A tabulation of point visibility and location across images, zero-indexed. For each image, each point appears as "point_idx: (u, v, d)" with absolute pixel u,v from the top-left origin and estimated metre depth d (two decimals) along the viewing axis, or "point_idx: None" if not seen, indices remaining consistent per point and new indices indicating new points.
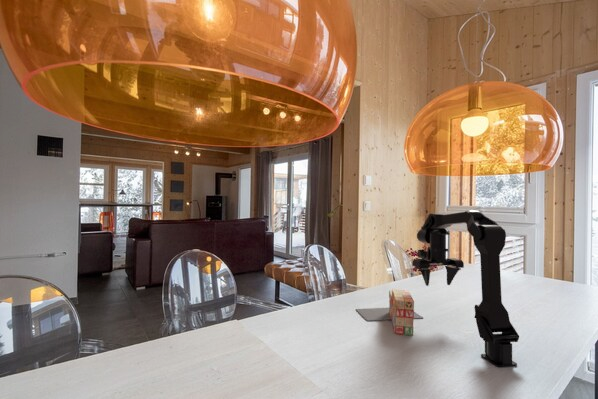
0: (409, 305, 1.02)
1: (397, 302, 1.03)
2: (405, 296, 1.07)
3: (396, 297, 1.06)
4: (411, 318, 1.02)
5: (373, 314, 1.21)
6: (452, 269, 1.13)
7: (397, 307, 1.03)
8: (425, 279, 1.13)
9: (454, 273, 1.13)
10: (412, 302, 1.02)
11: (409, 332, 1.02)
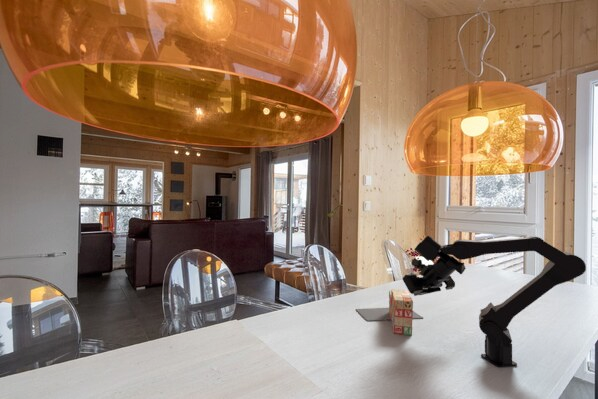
0: (408, 305, 1.02)
1: (396, 302, 1.03)
2: (404, 296, 1.07)
3: (395, 297, 1.06)
4: (410, 318, 1.02)
5: (373, 314, 1.21)
6: (432, 288, 1.01)
7: (396, 307, 1.03)
8: None
9: (431, 292, 1.01)
10: (411, 302, 1.02)
11: (408, 332, 1.02)
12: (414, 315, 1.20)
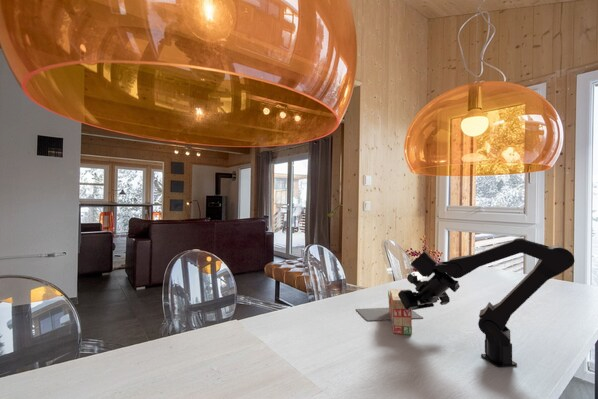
0: None
1: (394, 302, 1.03)
2: None
3: (393, 297, 1.06)
4: (409, 317, 1.02)
5: (373, 314, 1.21)
6: (425, 304, 1.02)
7: (395, 307, 1.03)
8: None
9: (425, 307, 1.03)
10: None
11: (408, 331, 1.03)
12: (414, 315, 1.20)
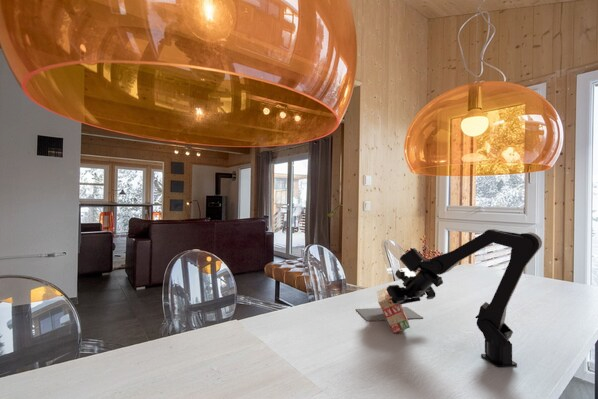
0: None
1: (380, 303, 1.04)
2: (387, 293, 1.08)
3: (379, 299, 1.07)
4: (400, 312, 1.03)
5: (373, 314, 1.21)
6: (412, 298, 1.08)
7: (383, 308, 1.04)
8: None
9: None
10: None
11: (405, 326, 1.03)
12: (414, 315, 1.20)
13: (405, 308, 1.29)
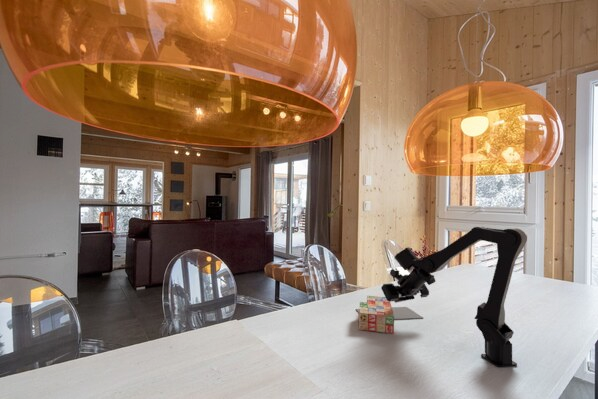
0: (363, 317, 1.06)
1: (361, 328, 1.06)
2: (359, 314, 1.10)
3: None
4: (376, 316, 1.05)
5: None
6: (406, 297, 1.11)
7: (366, 328, 1.06)
8: None
9: None
10: (360, 314, 1.06)
11: (391, 319, 1.04)
12: (414, 315, 1.20)
13: (405, 308, 1.29)
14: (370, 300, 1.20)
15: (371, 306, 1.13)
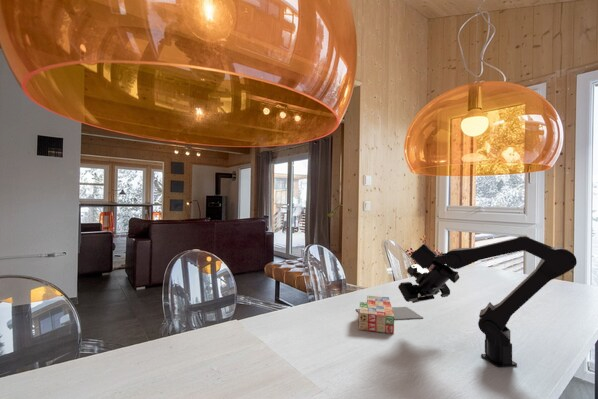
0: (363, 317, 1.06)
1: (361, 328, 1.06)
2: (359, 314, 1.10)
3: None
4: (376, 316, 1.05)
5: None
6: (425, 296, 1.02)
7: (366, 328, 1.06)
8: None
9: (425, 300, 1.03)
10: (360, 314, 1.06)
11: (391, 319, 1.04)
12: (414, 315, 1.20)
13: (405, 308, 1.29)
14: (370, 300, 1.20)
15: (371, 306, 1.13)
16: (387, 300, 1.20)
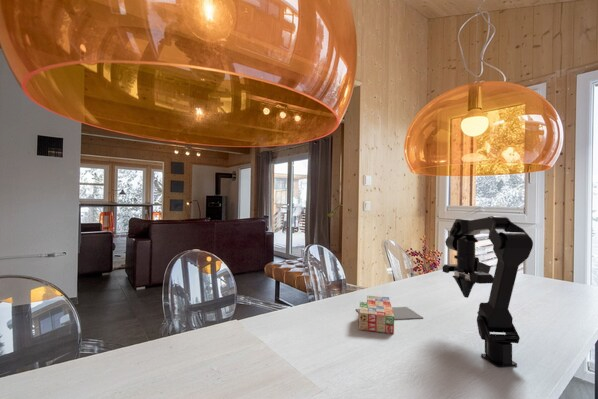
0: (363, 317, 1.06)
1: (361, 328, 1.06)
2: (359, 314, 1.10)
3: None
4: (376, 316, 1.05)
5: None
6: None
7: (366, 328, 1.06)
8: None
9: (462, 284, 1.03)
10: (360, 314, 1.06)
11: (391, 319, 1.04)
12: (414, 315, 1.20)
13: (405, 308, 1.29)
14: (370, 300, 1.20)
15: (371, 306, 1.13)
16: (387, 300, 1.20)
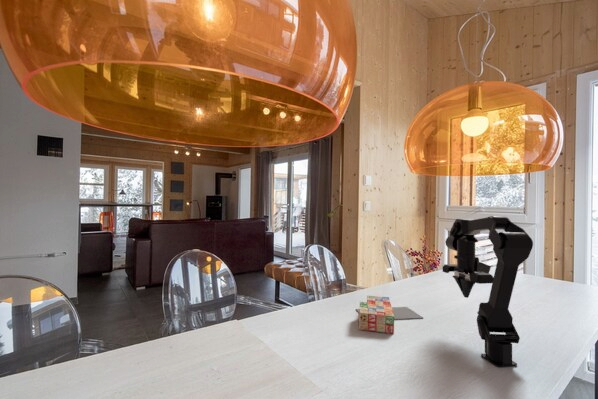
0: (363, 317, 1.06)
1: (361, 328, 1.06)
2: (359, 314, 1.10)
3: None
4: (376, 316, 1.05)
5: None
6: None
7: (366, 328, 1.06)
8: None
9: (462, 284, 1.03)
10: (360, 314, 1.06)
11: (391, 319, 1.04)
12: (414, 315, 1.20)
13: (405, 308, 1.29)
14: (370, 300, 1.20)
15: (371, 306, 1.13)
16: (387, 300, 1.20)
